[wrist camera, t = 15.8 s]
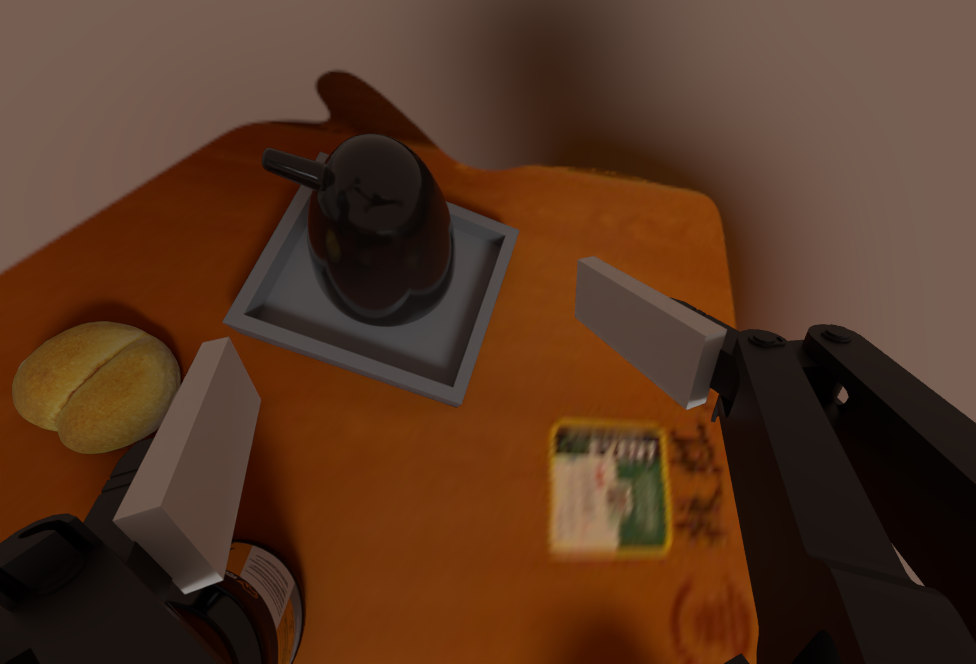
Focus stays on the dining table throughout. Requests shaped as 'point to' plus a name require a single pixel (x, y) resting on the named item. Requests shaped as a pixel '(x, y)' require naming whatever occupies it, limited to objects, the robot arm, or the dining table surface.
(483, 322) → the tray
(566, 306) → the dining table surface
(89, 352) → the bread roll
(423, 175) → the pump dispenser
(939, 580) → the robot arm
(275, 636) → the supplement container
